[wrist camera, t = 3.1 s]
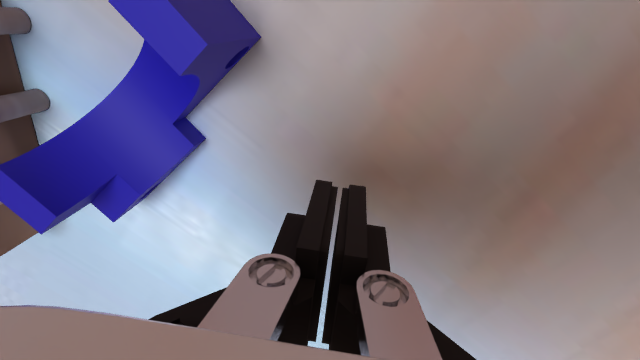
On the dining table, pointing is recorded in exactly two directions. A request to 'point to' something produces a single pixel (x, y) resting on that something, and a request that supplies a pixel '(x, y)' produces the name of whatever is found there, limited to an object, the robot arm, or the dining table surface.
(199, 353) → the robot arm
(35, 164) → the blue curved cradle
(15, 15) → the peg rack
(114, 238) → the dining table surface
